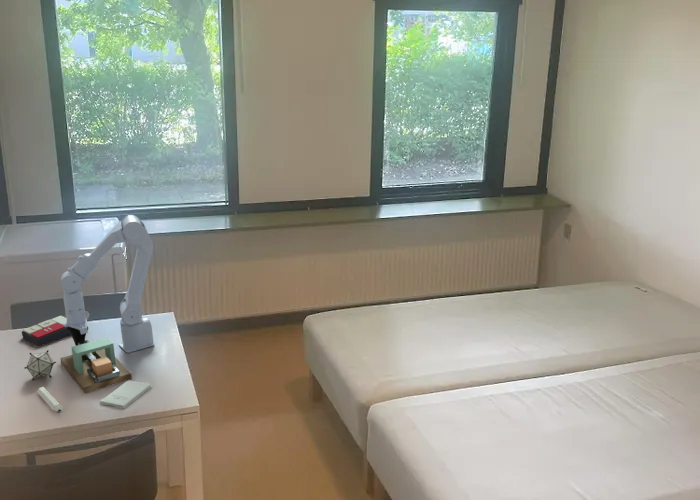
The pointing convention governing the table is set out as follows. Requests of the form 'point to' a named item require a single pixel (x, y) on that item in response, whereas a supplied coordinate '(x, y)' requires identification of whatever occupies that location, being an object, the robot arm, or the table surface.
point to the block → (102, 366)
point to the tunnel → (90, 348)
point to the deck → (86, 381)
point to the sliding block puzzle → (46, 331)
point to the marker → (49, 399)
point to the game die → (40, 365)
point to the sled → (90, 370)
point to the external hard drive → (125, 394)
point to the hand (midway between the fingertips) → (80, 346)
